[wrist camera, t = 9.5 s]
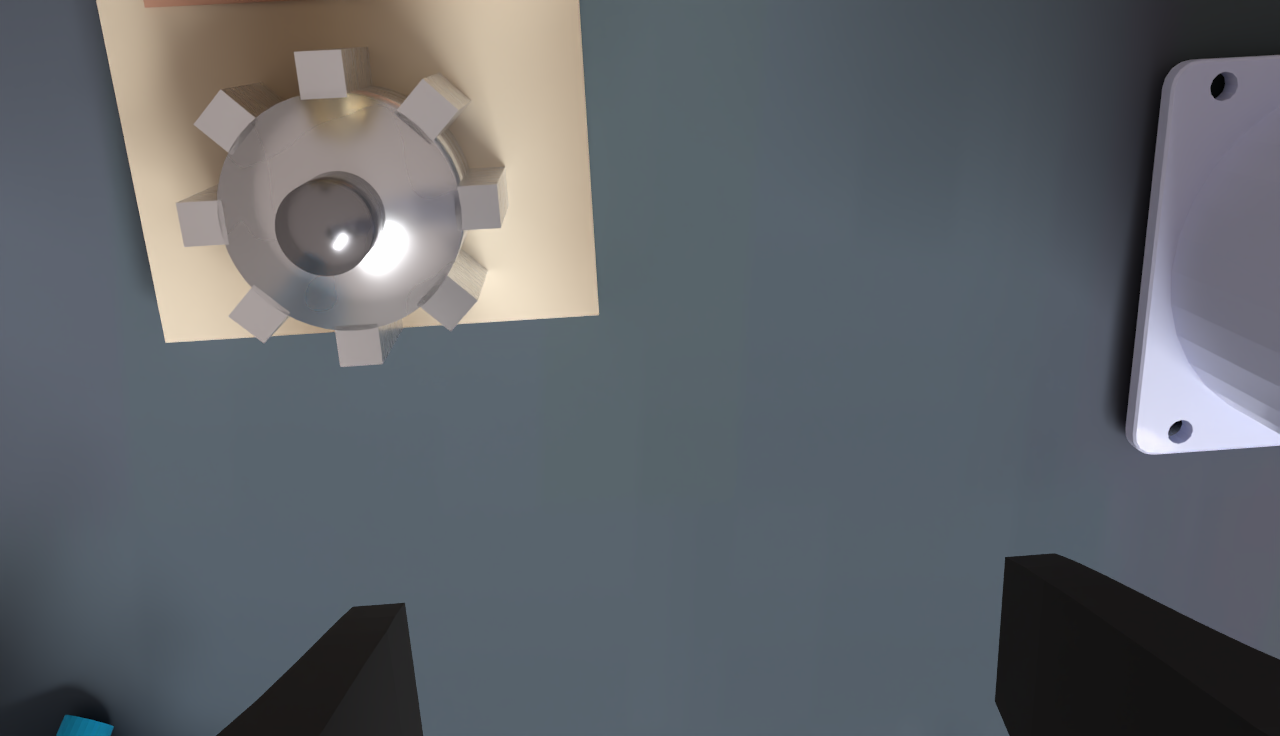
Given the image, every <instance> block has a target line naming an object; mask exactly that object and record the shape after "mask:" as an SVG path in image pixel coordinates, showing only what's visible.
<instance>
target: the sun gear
mask: <svg viewBox="0 0 1280 736" xmlns="http://www.w3.org/2000/svg"><path fill="white" fill-rule="evenodd" d="M294 57H295V63H296V70H297V77H298V84H299V90H300V96H296V97H292V98H290V99H287V100H285V101H284V100H283V99H281V98H280V97H279V96H278V95H277V94H275V93H274V92H273V91H272V90H271V89H269V88H268V87H267V86H266V85H265V84H263V83H262V82H259V83H253V84H248V85H242V86H236V87H231V88H225V89H220V91H219V92H218V93H217V95H216V96H215V97H214V98H213V100H212V101H211V102H210V104H209V105H208V106H207V107H206V109H205V110H204V111H203V113H202V114H201V115H200V117H199V118H198V119H197V120H196V122H195V123H194V124H193V125H195V126H196V127H197V128H198V129H200V130H201V131H202V132H203V133H204V134H206V135H207V136H208V137H209V138H211V139H212V140H213V141H214V142H216V143H217V144H218V145H219V146H221V147H222V148H223V149H224V150H226V151H227V152H228V155H227V157H226V159H225V161H224V164H223V167H222V170H221V174H220V178H219V184H217V185H215V186H213V187H210V188H208V189H206V190H204V191H201V192H199V193H197V194H195V195H192V196H190V197H188V198H186V199H183V200H181V201H179V202H177V203H176V207H177V212H178V218H179V223H180V228H181V233H182V239H183V244H184V247H193V246H210V245H225V246H226V249H227V251H228V254H229V255H230V257H231V259H232V261H233V263H234V265H235V267H236V268H237V270H238V271H239V272H240V274H241V275H242V277H243V278H244V279H245V281H246V282H247V283H248V284H249V285H250V286H251V287H252V288H251V289H250V290H249V291H248V293H247V294H246V295H245V296H244V298H243V299H242V300H241V301H240V302H239V304H238V305H237V306H236V307H235V309H234V310H233V311H232V312H231V313H230V315H229V316H228V317H230V318H231V319H232V320H234V321H235V322H236V323H238V324H239V325H240V326H242V327H243V328H244V329H246V330H247V331H248V332H250V333H251V334H252V335H254V336H255V337H256V338H258V339H259V340H260V341H261V342H263V343H265V342H266V341H267V340H268V339H269V338H270V337H271V336H272V335H273V334H274V333H275V332H276V331H277V330H278V329H279V328H280V327H281V326H282V325H283V323H284V322H285V321H286V320H287V319H288V318H289V317H292V318H294V319H296V320H298V321H301V322H304V323H306V324H309V325H312V326H316V327H320V328H324V329H331V330H335V334H336V340H337V347H338V354H339V361H340V367H346V366H361V365H376V364H383V363H384V361H385V360H386V358H387V356H388V354H389V352H390V351H391V349H392V347H393V345H394V343H395V342H396V340H397V338H398V336H399V334H400V333H401V331H402V329H403V321H402V318H404V317H406V316H407V315H409V314H411V313H413V312H414V311H415V310H417V309H418V308H419V307H421V308H422V309H423V310H425V311H426V312H427V313H428V314H430V315H431V316H432V317H433V318H435V319H436V320H437V321H438V322H440V323H441V324H442V325H443V326H444V327H446V328H447V329H448V330H449V331H452V329H453V328H454V327H455V326H456V325H457V324H458V323H459V321H460V320H461V319H462V318H463V317H464V316H465V315H466V314H467V312H468V311H469V310H470V309H471V308H472V307H473V306H474V304H475V303H476V302H477V301H478V299H479V296H480V293H481V290H482V287H483V284H484V281H485V278H486V275H487V272H488V270H487V269H486V268H484V267H483V266H482V265H481V264H480V263H478V262H477V261H476V260H475V259H474V258H472V257H471V256H470V255H469V254H468V253H466V252H465V251H464V250H463V249H462V246H463V244H464V242H465V239H466V237H467V234H468V231H469V230H477V229H494V228H501V227H502V224H503V221H504V218H505V215H506V212H507V209H508V206H509V202H508V191H507V180H506V169H505V167H488V168H471V169H469V165H468V162H467V159H466V157H465V155H464V153H463V150H462V148H461V146H460V145H459V143H458V141H457V140H456V138H455V136H454V135H453V133H452V132H451V131H450V130H449V127H450V126H451V124H452V123H453V122H454V121H455V120H456V118H457V117H458V116H459V115H460V114H461V112H462V111H463V110H464V109H465V108H466V106H467V105H468V104H469V103H470V102H471V100H470V99H469V98H468V97H467V96H466V95H465V94H464V93H462V92H461V91H460V90H459V89H458V88H457V87H456V86H454V85H453V84H452V83H451V82H450V81H449V80H448V79H447V78H445V77H444V76H443V75H442V74H441V73H437V74H434V75H432V76H429V77H426V78H423V79H422V80H421V81H420V82H419V84H418V85H417V86H416V87H415V88H414V90H413V91H412V92H411V93H410V95H409V96H407V95H405V94H402V93H400V92H398V91H395V90H392V89H388V88H385V87H381V86H374V85H373V83H372V75H371V67H370V59H369V51H368V47H354V48H335V49H320V50H309V51H297V52H294Z"/></svg>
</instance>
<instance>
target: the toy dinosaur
mask: <svg viewBox="0 0 1280 736" xmlns="http://www.w3.org/2000/svg"><path fill="white" fill-rule="evenodd" d="M113 728H114V726H112V725H109V724H106V723H102V722H98V721H95V720H91V719H86V718H82V717H77V716H71V715H65V716H64V718H63V721H62V723H61V725H60V728H59V730H58V732H57V735H56V736H110V735H111V733H112V730H113Z"/></svg>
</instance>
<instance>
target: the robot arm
mask: <svg viewBox="0 0 1280 736" xmlns="http://www.w3.org/2000/svg"><path fill="white" fill-rule="evenodd" d="M1220 73H1221V74H1222V75H1223V76H1224V78H1225V87H1224V89H1223V92H1222V93H1221V94H1220V95H1219V96H1218V97H1217V98H1214V97H1213V96H1212V95H1211V90H1210V86H1211V84H1212V81H1213V79H1214V78H1215V77H1216V76H1217V75H1218V74H1220ZM1180 420H1182V426H1181V428H1180V430H1179V431H1178V432H1177V433H1176V434H1175V435H1172V436H1168V431H1169V429H1170V427H1171V426H1172V425H1173V424H1174V423H1175V422H1177V421H1180ZM1125 430H1126V438H1127V439H1128V441H1129V442H1130V444H1131V445H1133V446H1134V447H1135V448H1137V449H1138V450H1140V451H1141V452H1143V453H1145V454H1153V455H1155V454H1168V453H1182V452H1196V451H1210V450H1224V449H1238V448H1252V447H1266V446H1280V55H1265V56H1247V57H1228V58H1210V59H1191V60H1187V61H1183V62H1180V63H1179V64H1177V65H1176V66H1175V67H1173V68H1172V69H1171V70H1170V72H1169V73H1168V75H1167V76H1166V77H1165V80H1164V84H1163V87H1162V95H1161V104H1160V113H1159V123H1158V132H1157V141H1156V150H1155V160H1154V169H1153V178H1152V187H1151V197H1150V206H1149V215H1148V224H1147V234H1146V243H1145V252H1144V261H1143V271H1142V280H1141V289H1140V298H1139V308H1138V317H1137V326H1136V335H1135V345H1134V354H1133V363H1132V372H1131V382H1130V391H1129V400H1128V409H1127V419H1126V428H1125ZM995 702H996V705H997V707H998V709H999V712H1000V714H1001V717H1002V719H1003V721H1004V724H1005V726H1006V728H1007V731H1008V733H1009V735H1010V736H1280V660H1279V659H1277V658H1275V657H1272V656H1270V655H1268V654H1265V653H1263V652H1261V651H1259V650H1256V649H1254V648H1252V647H1250V646H1247V645H1245V644H1243V643H1241V642H1239V641H1237V640H1235V639H1233V638H1230V637H1228V636H1226V635H1224V634H1222V633H1220V632H1218V631H1216V630H1214V629H1211V628H1209V627H1207V626H1205V625H1203V624H1201V623H1199V622H1197V621H1195V620H1193V619H1191V618H1189V617H1187V616H1185V615H1183V614H1181V613H1179V612H1177V611H1175V610H1173V609H1171V608H1169V607H1167V606H1165V605H1163V604H1161V603H1159V602H1157V601H1155V600H1153V599H1151V598H1149V597H1147V596H1145V595H1143V594H1141V593H1139V592H1137V591H1135V590H1133V589H1131V588H1129V587H1127V586H1125V585H1123V584H1121V583H1119V582H1117V581H1115V580H1113V579H1111V578H1109V577H1107V576H1105V575H1103V574H1101V573H1099V572H1097V571H1095V570H1093V569H1091V568H1089V567H1086V566H1084V565H1082V564H1080V563H1078V562H1075V561H1073V560H1071V559H1068V558H1066V557H1063V556H1060V555H1058V554H1055V553H1054V554H1041V555H1028V556H1015V557H1005V569H1004V583H1003V597H1002V611H1001V625H1000V639H999V653H998V667H997V681H996V695H995ZM216 736H423V731H422V724H421V717H420V710H419V702H418V695H417V688H416V680H415V673H414V666H413V659H412V651H411V644H410V637H409V630H408V622H407V615H406V608H405V603H397V604H384V605H371V606H358V607H352V608H351V609H350V610H349V611H348V612H347V613H346V614H344V615H343V616H342V617H341V618H340V619H339V620H338V621H337V622H336V623H335V624H334V625H333V626H332V627H331V628H330V629H329V630H328V631H327V632H326V633H325V634H324V635H323V636H322V637H321V638H320V639H319V640H318V641H317V642H316V643H315V644H314V645H313V646H312V647H311V648H310V649H309V650H308V651H307V652H306V653H305V654H304V655H303V656H302V657H301V658H300V659H299V660H298V661H297V662H296V663H295V664H294V665H293V666H292V667H291V668H290V669H289V670H288V671H287V672H286V673H285V674H284V675H283V676H282V677H281V678H279V679H278V680H277V681H276V682H275V683H274V684H273V685H272V686H271V687H270V688H269V689H268V690H267V691H266V692H265V693H264V694H263V695H262V696H261V697H260V698H259V699H258V700H257V701H255V702H254V703H253V704H252V705H251V706H250V707H249V708H247V709H246V710H245V711H244V712H243V713H242V714H241V715H239V716H238V717H237V718H236V719H235V720H234V721H233V722H231V723H230V724H229V725H228V726H227V727H226V728H224V729H223V730H222V731H221V732H220V733H219V734H218V735H216Z"/></svg>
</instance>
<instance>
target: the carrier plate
mask: <svg viewBox="0 0 1280 736" xmlns="http://www.w3.org/2000/svg"><path fill="white" fill-rule="evenodd" d="M96 2H97V7H98V12H99V17H100V22H101V27H102V32H103V36H104V41H105V46H106V51H107V56H108V61H109V66H110V71H111V76H112V81H113V86H114V91H115V96H116V101H117V105H118V110H119V115H120V120H121V125H122V130H123V135H124V140H125V145H126V150H127V155H128V160H129V165H130V169H131V174H132V179H133V184H134V189H135V194H136V199H137V204H138V209H139V214H140V219H141V224H142V229H143V234H144V238H145V243H146V248H147V253H148V258H149V263H150V268H151V273H152V278H153V283H154V288H155V293H156V298H157V302H158V307H159V312H160V317H161V322H162V327H163V332H164V337H165V342H166V343H169V342H185V341H201V340H216V339H232V338H247V337H255V336H254V335H252V334H251V333H250V332H248V331H247V330H246V329H244V328H243V327H242V326H240V325H239V324H238V323H236V322H235V321H234V320H232V319H231V318H230V317H228V316H229V315H230V313H231V312H232V311H233V310H234V309H235V307H236V306H237V305H238V304H239V302H240V301H241V300H242V299H243V298H244V296H245V295H246V294H247V293H248V291H249V290H250V289H251V288H252V287H251V286H250V285H249V284H248V283H247V282H246V281H245V279H244V278H243V277H242V275H241V274H240V272H239V271H238V270H237V268H236V267H235V265H234V263H233V261H232V259H231V257H230V255H229V254H228V251H227V249H226V246H225V245H210V246H193V247H184V244H183V239H182V233H181V228H180V223H179V218H178V212H177V207H176V203H177V202H179V201H181V200H183V199H186V198H188V197H190V196H192V195H195V194H197V193H199V192H201V191H204V190H206V189H208V188H210V187H213V186H215V185H217V184H219V178H220V174H221V170H222V167H223V164H224V161H225V159H226V157H227V155H228V152H227V151H226V150H224V149H223V148H222V147H221V146H219V145H218V144H217V143H216V142H214V141H213V140H212V139H211V138H209V137H208V136H207V135H206V134H204V133H203V132H202V131H201V130H200V129H198V128H197V127H196V126H195V125H193V124H194V123H195V122H196V120H197V119H198V118H199V117H200V115H201V114H202V113H203V111H204V110H205V109H206V107H207V106H208V105H209V104H210V102H211V101H212V100H213V98H214V97H215V96H216V95H217V93H218V92H219V91H220V89H225V88H231V87H236V86H242V85H248V84H253V83H259V82H262V83H263V84H265V85H266V86H267V87H268V88H269V89H271V90H272V91H273V92H274V93H275V94H277V95H278V96H279V97H280V98H281V99H283V100H284V101H285V100H287V99H290V98H292V97H296V96H300V90H299V84H298V77H297V70H296V63H295V57H294V52H297V51H309V50H320V49H335V48H354V47H368V51H369V59H370V67H371V75H372V83H373V85H374V86H381V87H385V88H388V89H392V90H395V91H398V92H400V93H402V94H405V95H407V96H409V95H410V93H411V92H412V91H413V90H414V88H415V87H416V86H417V85H418V84H419V82H420V81H421V80H422V79H423V78H426V77H429V76H432V75H434V74H437V73H441V74H442V75H443V76H444V77H445V78H447V79H448V80H449V81H450V82H451V83H452V84H453V85H454V86H456V87H457V88H458V89H459V90H460V91H461V92H462V93H464V94H465V95H466V96H467V97H468V98H469V99H470V100H471V102H470V103H469V104H468V105H467V106H466V108H465V109H464V110H463V111H462V112H461V114H460V115H459V116H458V117H457V118H456V120H455V121H454V122H453V123H452V124H451V126H450V127H449V130H450V131H451V132H452V133H453V135H454V136H455V138H456V140H457V141H458V143H459V145H460V146H461V148H462V150H463V153H464V155H465V157H466V159H467V162H468V165H469V169H471V168H488V167H505V169H506V180H507V191H508V202H509V206H508V209H507V212H506V215H505V218H504V221H503V224H502V227H501V228H494V229H477V230H469V231H468V234H467V237H466V239H465V242H464V244H463V246H462V249H463V250H464V251H465V252H466V253H468V254H469V255H470V256H471V257H472V258H474V259H475V260H476V261H477V262H478V263H480V264H481V265H482V266H483V267H484V268H486V269H487V270H488V272H487V275H486V278H485V281H484V284H483V287H482V290H481V293H480V296H479V299H478V301H477V302H476V303H475V304H474V306H473V307H472V308H471V309H470V310H469V311H468V312H467V314H466V315H465V316H464V317H463V318H462V319H461V320H460V321H459V323H458V324H466V323H482V322H498V321H513V320H529V319H544V318H560V317H576V316H591V315H599V308H598V292H597V276H596V260H595V245H594V229H593V213H592V197H591V181H590V166H589V150H588V134H587V118H586V103H585V87H584V71H583V55H582V39H581V24H580V8H579V0H96ZM402 321H403V328H404V327H419V326H435V325H442V324H441V323H440V322H438V321H437V320H436V319H435V318H433V317H432V316H431V315H430V314H428V313H427V312H426V311H425V310H423V309H422V308H421V307H419V308H418V309H417V310H415V311H414V312H413V313H411V314H409V315H407V316H406V317H404V318H402ZM326 332H335V330H331V329H324V328H320V327H316V326H312V325H309V324H306V323H304V322H301V321H298V320H296V319H294V318H292V317H289V318H288V319H287V320H286V321H285V322H284V323H283V325H282V326H281V327H280V328H279V329H278V330H277V331H276V332H275V333H274V334H273V335H272V336H279V335H294V334H310V333H326Z"/></svg>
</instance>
